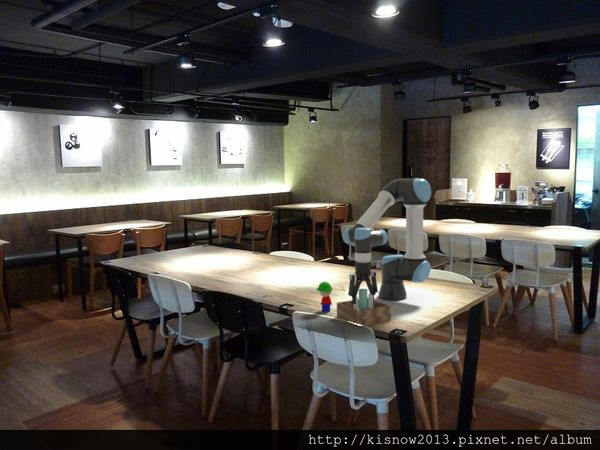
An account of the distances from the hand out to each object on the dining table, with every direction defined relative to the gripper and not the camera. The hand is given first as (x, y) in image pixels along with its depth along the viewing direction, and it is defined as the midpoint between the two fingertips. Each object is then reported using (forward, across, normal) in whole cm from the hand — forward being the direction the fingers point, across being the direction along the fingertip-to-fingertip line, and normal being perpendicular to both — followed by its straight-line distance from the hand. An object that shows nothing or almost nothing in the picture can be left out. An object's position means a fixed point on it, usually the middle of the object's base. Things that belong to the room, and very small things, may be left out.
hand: (363, 309), depth 232 cm
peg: (+5, 0, 0) cm, 5 cm away
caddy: (+5, 0, 0) cm, 5 cm away
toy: (+5, +9, -20) cm, 22 cm away
